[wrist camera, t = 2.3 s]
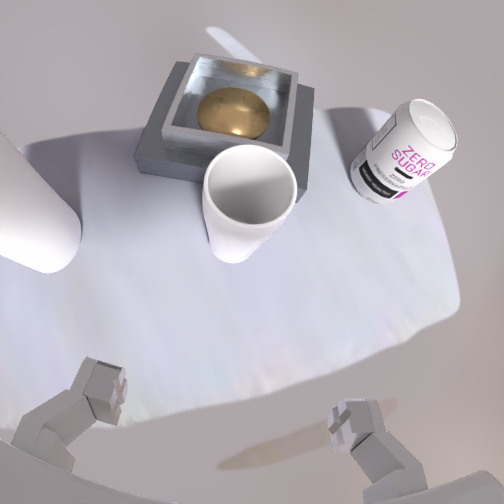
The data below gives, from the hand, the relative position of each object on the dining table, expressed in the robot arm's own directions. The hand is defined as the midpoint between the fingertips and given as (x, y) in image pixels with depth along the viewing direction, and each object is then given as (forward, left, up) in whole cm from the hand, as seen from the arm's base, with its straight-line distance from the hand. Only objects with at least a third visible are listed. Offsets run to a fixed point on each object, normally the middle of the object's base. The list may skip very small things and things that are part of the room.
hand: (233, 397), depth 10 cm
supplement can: (+18, +25, -23) cm, 39 cm away
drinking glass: (0, +12, -23) cm, 26 cm away
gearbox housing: (-3, +27, -23) cm, 36 cm away
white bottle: (-22, +8, -23) cm, 33 cm away
